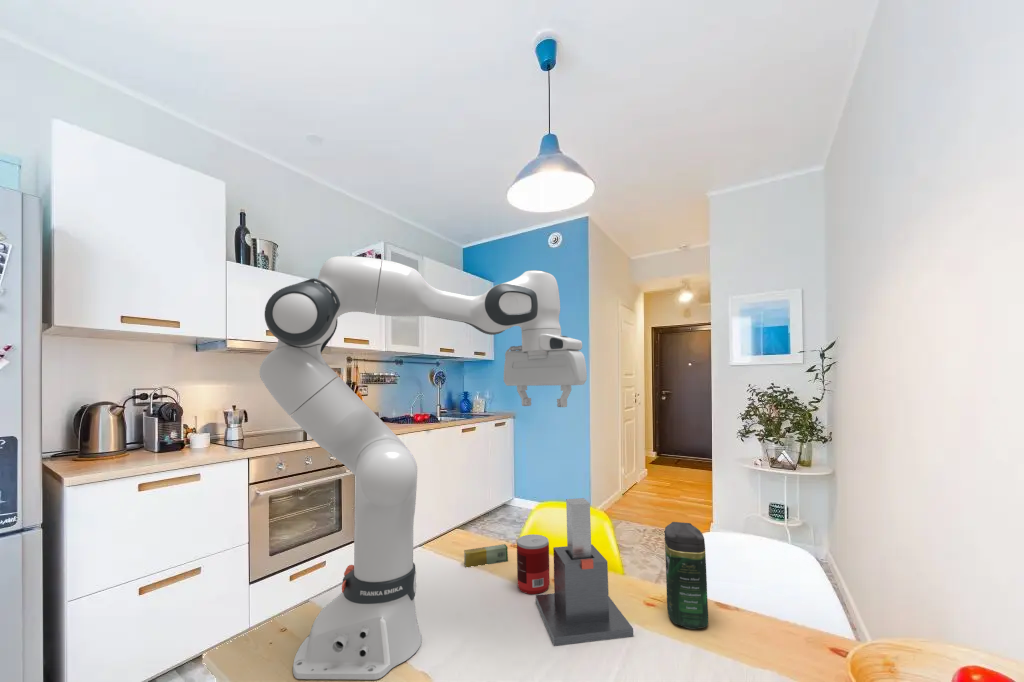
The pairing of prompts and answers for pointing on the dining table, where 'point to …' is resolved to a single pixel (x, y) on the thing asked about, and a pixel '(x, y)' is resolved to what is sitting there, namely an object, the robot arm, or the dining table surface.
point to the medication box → (486, 555)
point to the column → (578, 529)
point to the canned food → (533, 564)
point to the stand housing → (581, 602)
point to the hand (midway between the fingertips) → (543, 406)
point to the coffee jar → (686, 575)
